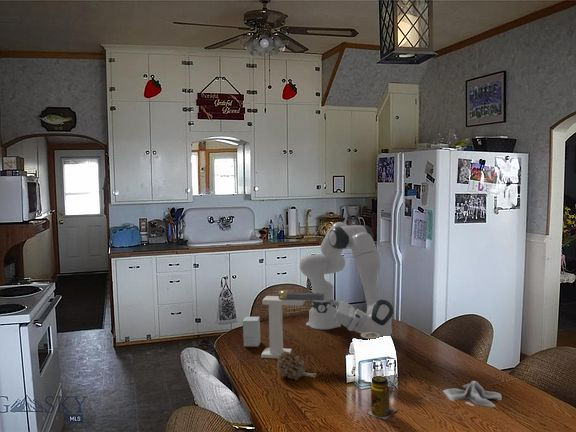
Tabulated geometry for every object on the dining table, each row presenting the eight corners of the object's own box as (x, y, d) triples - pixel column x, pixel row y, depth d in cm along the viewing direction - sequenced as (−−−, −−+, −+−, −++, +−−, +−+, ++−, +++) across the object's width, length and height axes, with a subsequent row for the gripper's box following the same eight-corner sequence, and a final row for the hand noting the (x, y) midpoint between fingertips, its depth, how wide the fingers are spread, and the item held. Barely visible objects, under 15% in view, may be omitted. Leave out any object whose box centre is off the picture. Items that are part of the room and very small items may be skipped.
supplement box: (260, 341, 247) (260, 316, 246) (258, 346, 240) (257, 320, 239) (246, 341, 248) (245, 316, 247) (243, 346, 240) (242, 320, 239)
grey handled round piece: (270, 376, 204) (269, 352, 203) (286, 369, 211) (286, 346, 210) (311, 391, 188) (311, 366, 188) (327, 383, 195) (327, 358, 195)
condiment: (366, 413, 170) (365, 379, 169) (378, 404, 177) (378, 371, 176) (385, 420, 166) (385, 384, 165) (397, 410, 172) (397, 376, 171)
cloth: (434, 395, 184) (434, 379, 184) (464, 382, 195) (464, 367, 195) (490, 418, 167) (490, 400, 166) (520, 402, 178) (520, 385, 177)
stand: (266, 350, 234) (264, 295, 232) (306, 352, 230) (305, 296, 228) (261, 357, 225) (259, 300, 223) (303, 359, 221) (302, 301, 219)
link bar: (280, 297, 228) (280, 290, 228) (324, 298, 224) (324, 291, 224) (278, 299, 224) (277, 292, 224) (323, 300, 220) (323, 293, 219)
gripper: (360, 306, 229) (334, 291, 231) (357, 319, 210) (328, 302, 211) (353, 318, 231) (327, 302, 232) (350, 332, 211) (321, 315, 212)
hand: (328, 302), depth 222 cm, fingers open, 8 cm apart
